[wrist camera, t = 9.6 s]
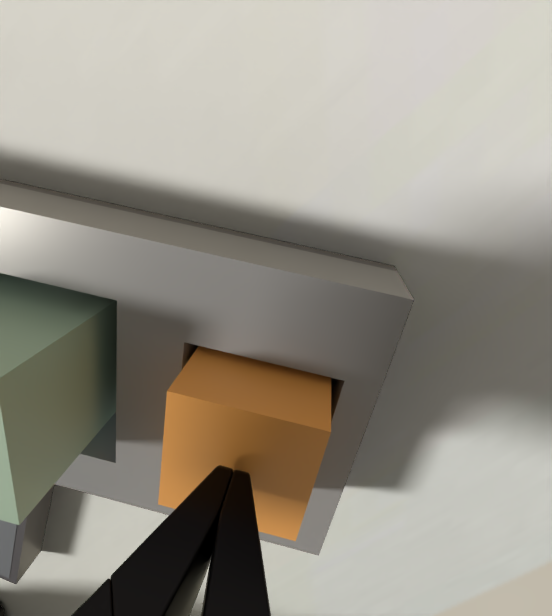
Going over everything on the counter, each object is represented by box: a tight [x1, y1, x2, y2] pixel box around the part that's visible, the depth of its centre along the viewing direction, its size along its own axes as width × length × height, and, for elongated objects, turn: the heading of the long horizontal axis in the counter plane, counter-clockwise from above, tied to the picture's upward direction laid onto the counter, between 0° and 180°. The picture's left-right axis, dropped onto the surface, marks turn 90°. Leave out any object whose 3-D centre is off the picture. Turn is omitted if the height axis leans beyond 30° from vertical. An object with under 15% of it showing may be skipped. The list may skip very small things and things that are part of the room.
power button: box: [158, 346, 331, 541], centre depth 11 cm, size 4×4×3 cm
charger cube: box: [0, 273, 117, 525], centre depth 11 cm, size 5×5×6 cm
